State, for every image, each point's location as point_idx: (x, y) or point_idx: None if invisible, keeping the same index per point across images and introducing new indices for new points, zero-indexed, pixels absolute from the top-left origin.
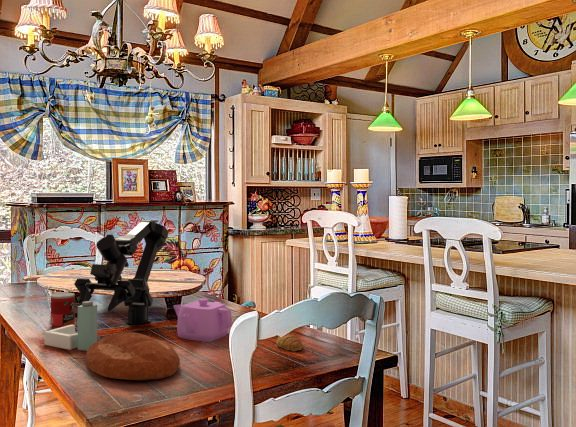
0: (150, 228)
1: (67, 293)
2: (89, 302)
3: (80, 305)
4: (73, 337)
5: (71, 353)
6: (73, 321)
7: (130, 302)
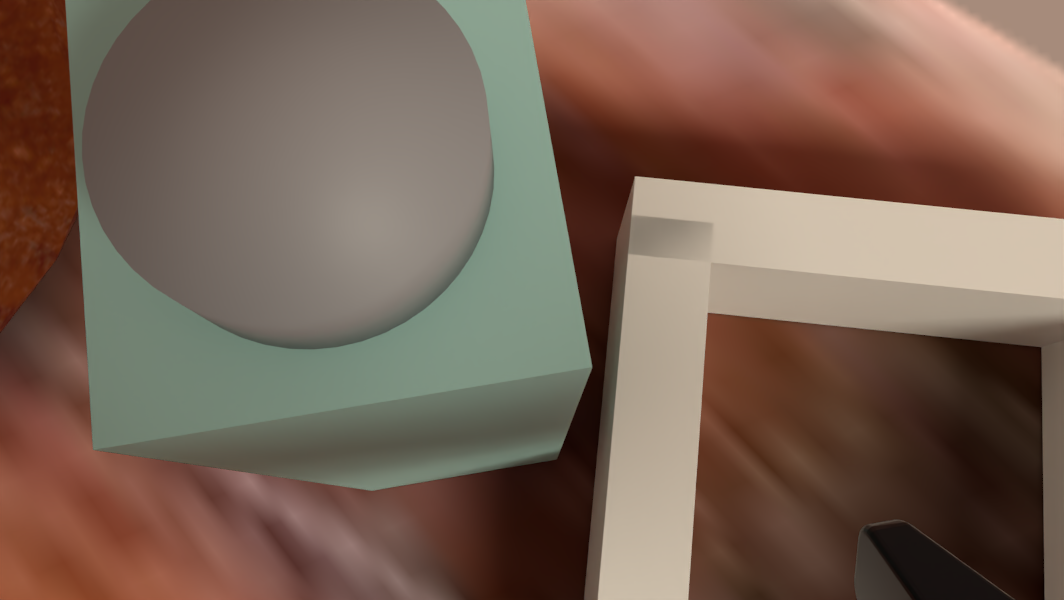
0: None
1: None
2: (187, 127)
3: (958, 563)
4: (626, 255)
5: None
6: None
7: None
